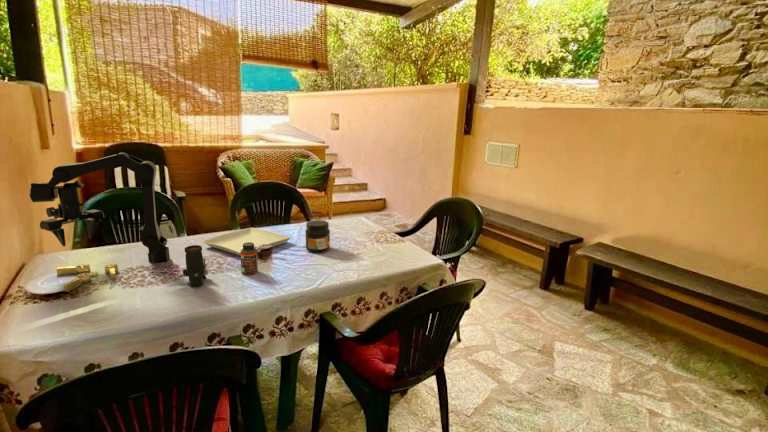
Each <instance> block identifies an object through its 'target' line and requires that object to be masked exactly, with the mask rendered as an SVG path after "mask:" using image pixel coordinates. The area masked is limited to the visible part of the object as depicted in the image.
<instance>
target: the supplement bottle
mask: <svg viewBox="0 0 768 432" xmlns="http://www.w3.org/2000/svg"><path fill="white" fill-rule="evenodd" d="M240 254H241V255H240V269H241V270H240V271H241V273H242V274H243V275H245V276H250V275H255V274H257V273H258V272H259V267H258V266H259V263H258V253H257V250H256V249H255V248H254V243H252V242H247V243H244V244H243V249H242V250H241V252H240Z"/></svg>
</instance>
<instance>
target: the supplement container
mask: <svg viewBox="0 0 768 432" xmlns="http://www.w3.org/2000/svg"><path fill="white" fill-rule="evenodd" d="M305 226H306V229H305V230H304V231H305V250H306V251H308V252H310V253H313V254H314V253H316V254H320V253H325V252H327V251H328V250H330V248H331V242H330V241H331V230H330V228H329V227H330V224H329V221H326V220H323V219H321V220H320V219H319V220H317V219H315V220H314V219H313V220H310V221H307V222H306V225H305Z"/></svg>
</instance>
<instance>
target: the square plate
mask: <svg viewBox="0 0 768 432" xmlns="http://www.w3.org/2000/svg"><path fill="white" fill-rule="evenodd" d="M291 238H292V237H291V236H289V235H284V234H281V233H278V232H274V231H269V230H265V229H261V228H255V227H248V228H247V227H246V228H244V229H239V230H235V231H232V232H228V233H224V234H220V235H218V236H217V235H216V236H215V237H212V238H209V239H205V240H202V243H204V244H205V245H206V246H209V247H212V248H215V249H219V250H222V251H225V252H229V253H232V254H235V255H237V256H241V254H240V252H241V250H242V249H243V244H244V243H247V242H252V243H254V246H259V245H262V244H266V245H264V246H267V245H271V246H272V248H274V247H275V248H276V247H277V246H279V245H281V244H284V243H287V242H288V241H289V240H290V239H291ZM264 246H261V247H264ZM261 247H258V248H256V250H257V251H258V250H259V249H260V248H261Z"/></svg>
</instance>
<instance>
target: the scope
mask: <svg viewBox="0 0 768 432" xmlns="http://www.w3.org/2000/svg"><path fill="white" fill-rule="evenodd" d="M202 251H203V247H202V246H201V245H199V244H198V245H197V244H194V245H193V244H192V245H188V246H185V247H184V253H185V267H186V268H185V269H183V270H182V275H183V277H186V278H187V277H188V281H189V284H190V285H189V286H190V288H192V289H195V288H196V289H197V288H201V287H203V286H204V280H206V279H207V277H206V276H207V275H208V274H209V272H208V271H209V270H208V269H207V266H208V265H207V263H206V258H205V257H203V252H202Z"/></svg>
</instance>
